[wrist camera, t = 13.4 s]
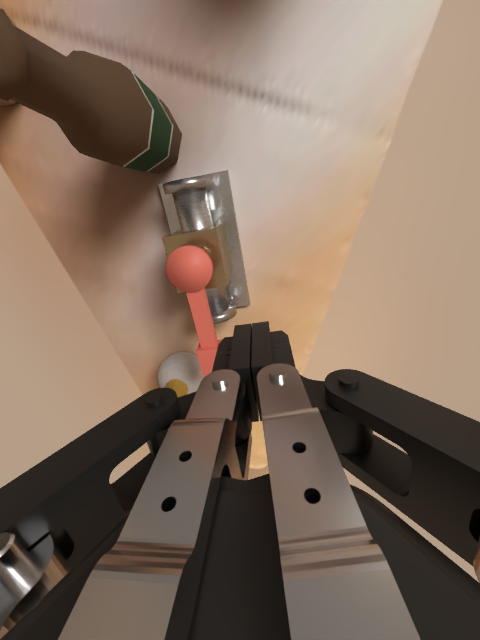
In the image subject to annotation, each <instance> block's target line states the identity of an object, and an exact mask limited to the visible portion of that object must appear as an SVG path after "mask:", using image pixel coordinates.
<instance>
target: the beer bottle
mask: <svg viewBox="0 0 480 640" xmlns="http://www.w3.org/2000/svg"><path fill="white" fill-rule="evenodd" d="M0 99H2V100H6V101H9V100H10V99H11V100H13V101H15V102H17V103H19V104H22V105H24V106H26V107H28V108H30V109H32V110H34V111H36V112H38V113H41V114H43V115H45V116H47V117H49V118H51V119H53V120H54V121H56V122H57V124H58V125H59V126H60V128H61V129H62V131H63V132H64V134H65V135H66V137H67V138H68V140H69V141H70V143H71V144H72V145H73V146H74V147H75V148H76V149H77V150H78V152H79V153H82V154H84V155H87V156H89V157H92V158H96V159H99V160H102V161H106V162H109V163H112V164H115V165H119V166H122V167H126V168H131V169H136V170H141V171H146V172H150V173H160V172H162V171H163V170H165V169H166V168H167V167H169V166H170V165H172V164H173V163H175V162H176V161H177V160H178V154H179V148H180V142H181V136H182V133H181V131H180V130H179V128H178V126H177V124H176V122H175V120H174V119H173V117H172V115H171V113H170V111H169V109H168V108H167V106H166V105H165V104H164V103H163V102H162V101H161V100H160V99H159V98H158V97H157V96H156V95H155V94H154V93H153V92H152V91H151V90H150V89H149V88H148V87H147V86H146V85H145V84H144V83H143V82H142V81H141V80H140V79H139V78H138V77H137V76H136V75H135V74H134V73H133V72H132V71H131V70H129V69H128V68H126V67H125V66H124V65H122V64H121V63H118V62H115V61H112V60H109V59H106V58H103V57H100V56H97V55H94V54H91V53H88V52H85V51H72V52H71V53H70V54H69V55H68V56H67V57H66V56H64V55H62V54H61V53H59V52H57V51H55V50H54V49H52V48H50V47H49V46H47V45H45V44H44V43H42V42H40V41H39V40H37V39H35V38H34V37H32V36H30V35H29V34H27V33H25V32H24V31H22V30H20V29H19V28H17V27H15V26H13V24H12V22H11V21H10V19H9V18H8V16H7V15H6V13H5V12H4V10H3V9H0Z"/></svg>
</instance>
